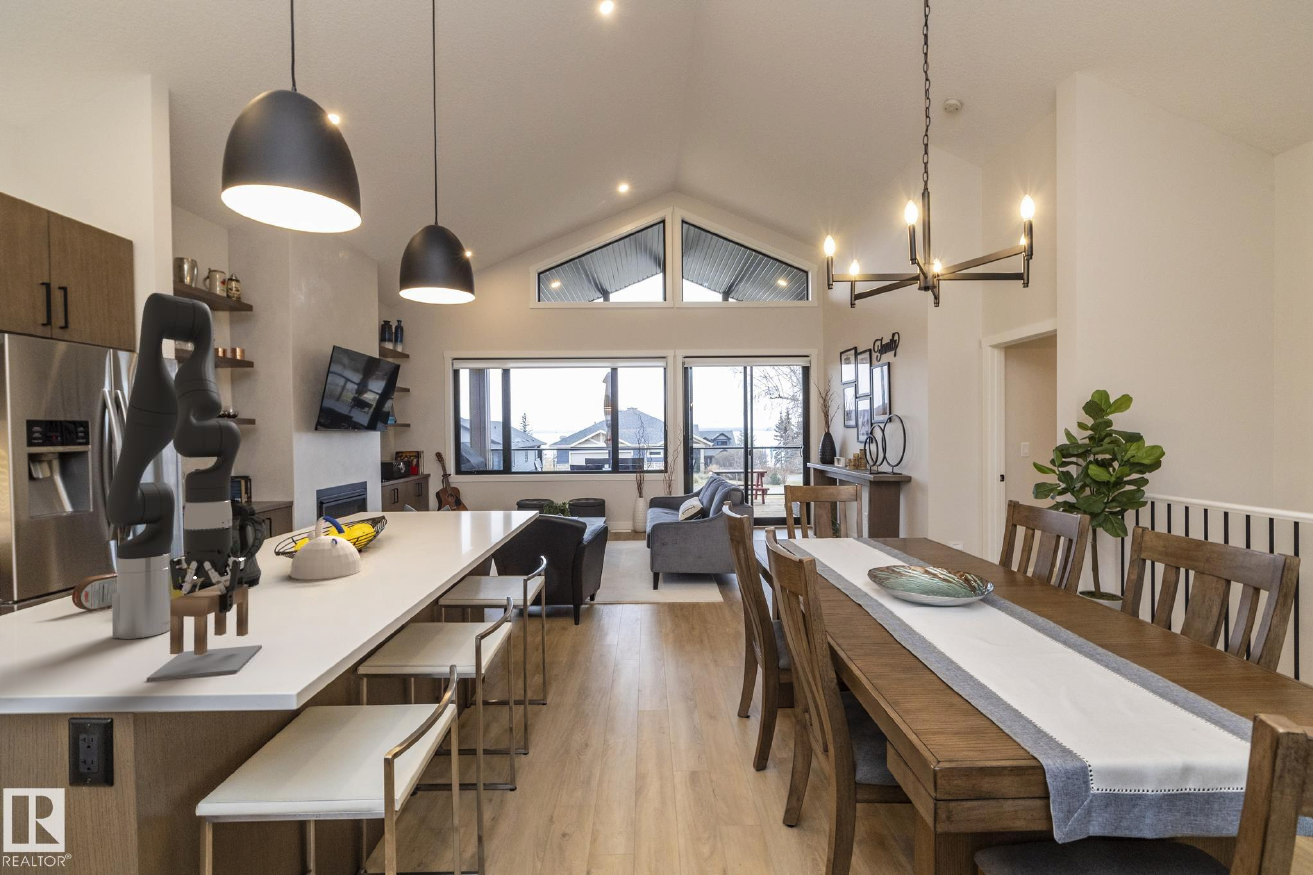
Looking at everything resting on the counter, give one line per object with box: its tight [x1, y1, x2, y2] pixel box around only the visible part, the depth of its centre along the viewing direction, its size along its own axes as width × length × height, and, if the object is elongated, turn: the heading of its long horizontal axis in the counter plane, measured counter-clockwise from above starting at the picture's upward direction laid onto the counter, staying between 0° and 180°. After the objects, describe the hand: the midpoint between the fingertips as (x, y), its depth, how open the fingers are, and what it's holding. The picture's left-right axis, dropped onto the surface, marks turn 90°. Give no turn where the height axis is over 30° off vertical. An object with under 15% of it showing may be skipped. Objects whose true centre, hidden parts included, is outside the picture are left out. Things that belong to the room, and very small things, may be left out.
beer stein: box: [198, 499, 267, 591], centre depth 180 cm, size 16×19×25 cm
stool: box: [169, 585, 249, 655], centre depth 120 cm, size 10×6×12 cm
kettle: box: [289, 515, 362, 581], centre depth 198 cm, size 20×21×18 cm
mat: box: [146, 644, 263, 682], centre depth 119 cm, size 14×14×1 cm
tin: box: [71, 572, 117, 612], centre depth 159 cm, size 15×3×8 cm, turn 159°
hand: (208, 611), depth 119 cm, fingers closed on stool, 6 cm apart
